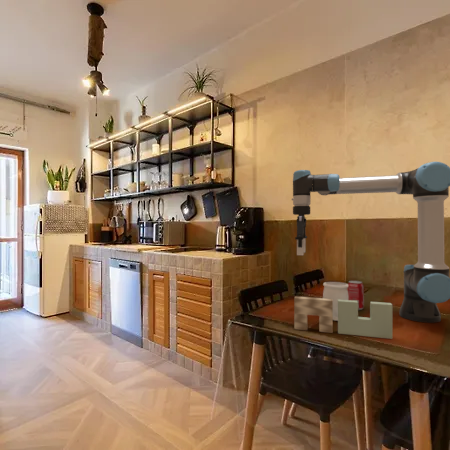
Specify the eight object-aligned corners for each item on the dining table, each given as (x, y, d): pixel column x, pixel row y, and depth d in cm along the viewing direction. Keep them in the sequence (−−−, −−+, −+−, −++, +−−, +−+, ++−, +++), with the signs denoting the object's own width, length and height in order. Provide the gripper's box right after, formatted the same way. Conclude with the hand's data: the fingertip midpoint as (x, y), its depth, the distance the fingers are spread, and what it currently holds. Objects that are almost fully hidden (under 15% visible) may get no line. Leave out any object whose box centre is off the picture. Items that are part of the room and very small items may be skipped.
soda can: (365, 311, 142) (365, 283, 142) (349, 310, 143) (349, 282, 143) (361, 307, 148) (361, 280, 149) (346, 306, 150) (346, 280, 150)
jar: (328, 313, 138) (328, 280, 138) (351, 317, 131) (351, 283, 132) (319, 318, 130) (319, 284, 130) (343, 323, 123) (343, 287, 123)
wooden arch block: (332, 330, 116) (332, 298, 116) (332, 332, 113) (332, 300, 113) (295, 326, 120) (294, 296, 120) (294, 329, 117) (294, 298, 117)
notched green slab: (390, 335, 109) (390, 302, 110) (392, 338, 107) (392, 305, 107) (337, 330, 115) (337, 299, 115) (338, 333, 112) (338, 301, 112)
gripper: (295, 207, 146) (295, 251, 146) (289, 203, 122) (289, 256, 122) (311, 207, 144) (311, 251, 144) (309, 203, 120) (308, 256, 120)
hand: (301, 253), depth 133 cm, fingers open, 13 cm apart
